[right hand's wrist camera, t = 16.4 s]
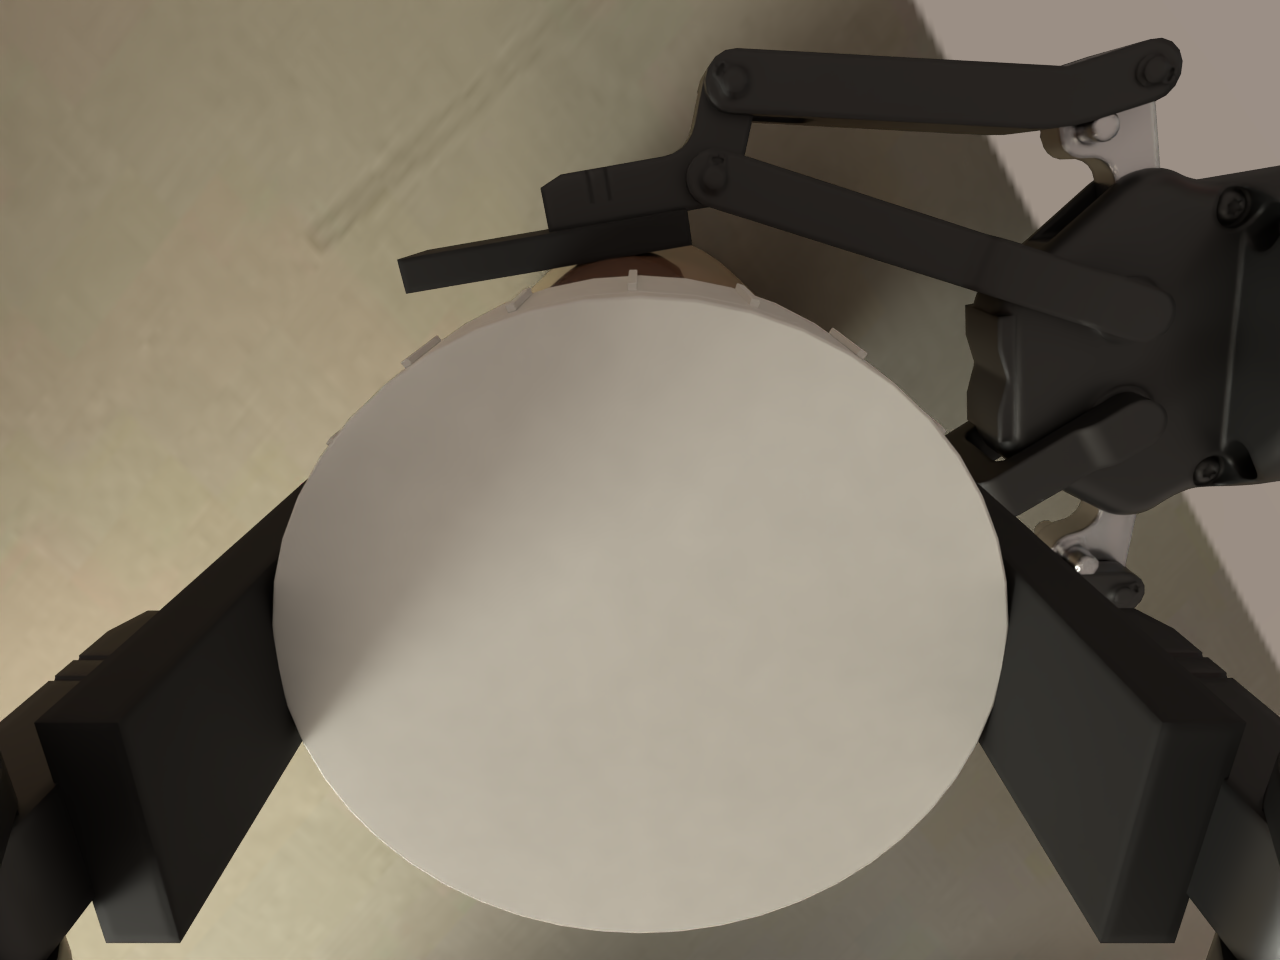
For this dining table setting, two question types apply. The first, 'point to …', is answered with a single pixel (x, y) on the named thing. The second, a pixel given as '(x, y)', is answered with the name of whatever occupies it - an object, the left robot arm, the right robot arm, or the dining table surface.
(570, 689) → the lid
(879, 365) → the dining table surface
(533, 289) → the jar
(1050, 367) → the left robot arm
